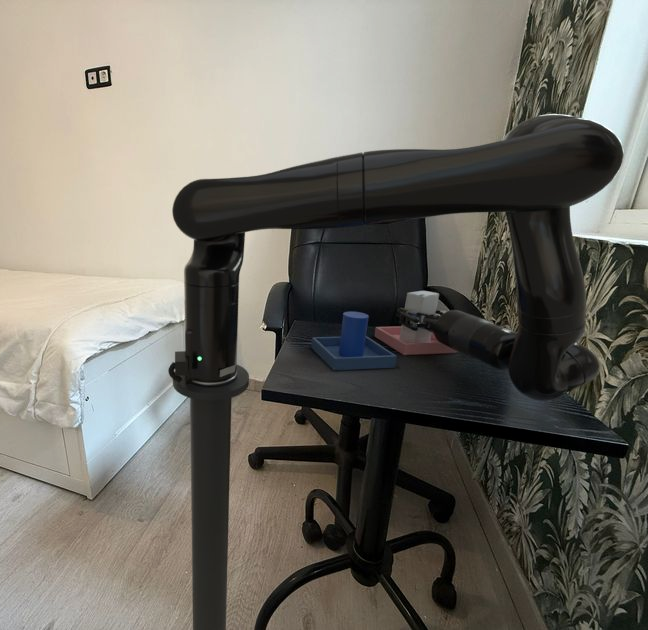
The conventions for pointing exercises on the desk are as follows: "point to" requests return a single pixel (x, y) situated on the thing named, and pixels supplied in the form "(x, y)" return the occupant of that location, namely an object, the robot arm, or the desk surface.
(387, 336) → the rose tray
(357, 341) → the blue canister
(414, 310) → the cosmetic box
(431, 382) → the desk surface
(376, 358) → the blue tray
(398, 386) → the desk surface
